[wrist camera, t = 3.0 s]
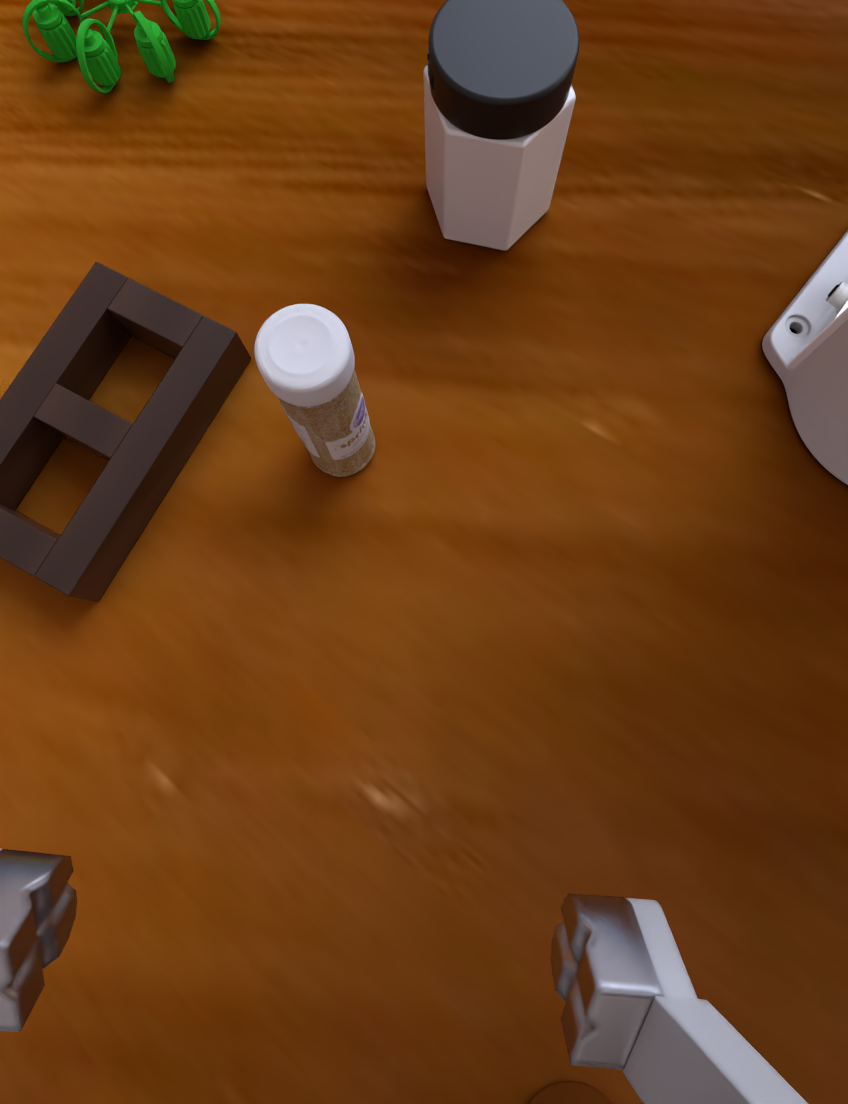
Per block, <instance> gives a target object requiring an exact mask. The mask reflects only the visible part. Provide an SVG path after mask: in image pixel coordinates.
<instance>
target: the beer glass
mask: <svg viewBox="0 0 848 1104" xmlns="http://www.w3.org/2000/svg"><path fill="white" fill-rule="evenodd" d="M528 1104H612V1103H611V1102H610V1101H609V1100H608V1099H607V1098H606V1097H605V1096H604V1095H603V1094H602V1093H600V1092H599V1091H597V1090H596V1089H594V1088H592V1087H590V1086H588V1085H585V1084H582V1083H577V1082H561V1083H556V1084H553V1085H551V1086H548V1087H546V1088H545V1089H543V1090H541V1091H540V1092H539V1093H538V1094H536V1095H535V1096H534V1097H533V1098H532V1100H531V1101H530V1102H529V1103H528Z"/></svg>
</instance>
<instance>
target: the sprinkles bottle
mask: <svg viewBox="0 0 848 1104" xmlns="http://www.w3.org/2000/svg"><path fill="white" fill-rule="evenodd" d="M254 352H255V360H256V363H257V366H258V369H259V371H260V373H261V375H262V377H263V379H264V380H265V382H266V384H267V386H268V387H269V389H270V390H271V391H272V392H273V393H274V394H275V395H276V396H277V397H278V398H279V399H280V402H281V404H282V406H283V409H284V411H285V413H286V414H287V416H288V418H289V420H290V422H291V423H292V425H293V427H294V429H295V430H296V432H297V434H298V435H299V437H300V439H301V440H302V442H303V444H304V445H305V447H306V448H307V449H308V450H309V454H310V457H311V459H312V460H313V462H314V464H315V465H316V466H317V467H318V468H319V469H321V470H322V471H323V472H325V473H328V474H330V475H332V476H336V477H344V476H349V475H352V474H355V473H357V472H359V471H360V470H362V469H363V468H364V467H365V466H366V465H367V464H368V462H369V461H370V460H371V458H372V456H373V455H374V451H375V436H374V432H373V430H372V428H371V426H370V421H369V416H368V412H367V408H366V405H365V401H364V398H363V394H362V392H361V390H360V386H359V383H358V380H357V377H356V373H355V370H354V352H353V348H352V344H351V341H350V337H349V334H348V332H347V330H346V328H345V326H344V324H343V323H342V321H341V320H340V319H339V318H338V317H337V316H336V315H335V314H333V313H332V312H331V311H329V310H327V309H325V308H323V307H320V306H317V305H312V304H296V305H291V306H288V307H285V308H283V309H281V310H279V311H277V312H275V313H274V314H273V315H271V316H270V317H269V318H268V319H267V320H266V321H265V322H264V324H263V325H262V327H261V328H260V330H259V332H258V334H257V337H256V341H255V348H254Z"/></svg>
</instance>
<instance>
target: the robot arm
mask: <svg viewBox="0 0 848 1104" xmlns="http://www.w3.org/2000/svg"><path fill="white" fill-rule="evenodd" d="M790 328H793V329H794V330H795V331H796V333H797V334H794V333H792V332H791V331H790ZM762 348H763V351H764V354H765V356H766V358H767V359H768V361H769V363H770V364H771V366H772V367H773V369H774V370H775V371H776V373H777V374H778V376H779V377H780V378H781V380H782V382H783V384H784V387H785V390H786V394H787V399H788V404H789V408H790V412H791V416H792V419H793V422H794V424H795V427H796V429H797V431H798V433H799V435H800V437H801V439H802V440H803V442H804V444H805V445H806V447H807V448H808V449H809V451H810V452H811V453H812V455H813V456H814V457H815V458H816V459H817V461H818V462H819V463H820V464H821V465H822V466H823V467H824V468H826V469H827V470H828V471H829V472H830V473H831V474H833V475H834V476H835V477H836V478H838V479H839V480H841V481H842V482H844V483H845V484H847V485H848V230H847V232H846V233H845V234H844V236H843V237H842V238H841V239H840V241H839V242H838V243H837V244H836V246H835V247H834V248H833V249H832V251H831V252H830V253H829V255H828V256H827V257H826V258H825V260H824V261H823V262H822V263H821V265H820V266H819V267H818V269H817V270H816V271H815V272H814V274H813V275H812V276H811V277H810V279H809V280H808V281H807V282H806V284H805V285H804V286H803V288H802V289H801V290H800V291H799V293H798V294H797V295H796V296H795V298H794V299H793V300H792V301H791V303H790V304H789V305H788V307H787V308H786V309H785V310H784V312H783V313H782V314H781V315H780V317H779V318H778V319H777V321H776V322H775V323H774V324H773V326H772V327H771V328H770V329H769V331H768V332H767V333H766V335H765V336H764V338H763V341H762ZM72 873H73V866H72V861H71V856H64V855H55V854H45V853H36V852H26V851H17V850H8V849H0V1031H21V1030H22V1028H23V1026H24V1024H25V1022H26V1020H27V1018H28V1016H29V1014H30V1012H31V1011H32V1009H33V1007H34V1005H35V1003H36V1001H37V999H38V997H39V995H40V993H41V991H42V989H43V987H44V986H45V983H44V977H43V970H42V969H43V968H45V967H46V966H47V965H48V964H50V963H51V962H52V961H54V960H55V959H56V958H58V957H59V956H60V954H61V952H62V950H63V948H64V946H65V944H66V942H67V940H68V938H69V936H70V932H71V929H72V926H73V923H74V920H75V916H76V907H77V897H76V890H74V889H73V888H72V887H71V886H70V885H69V884H68V883H67V882H68V880H69V878H70V876H71V874H72ZM561 910H562V915H563V919H564V921H563V922H561V923H560V924H558V925H557V926H556V927H555V930H554V934H553V938H552V947H551V965H552V975H553V980H554V986H555V990H556V991H557V992H558V994H559V995H560V996H561V997H562V998H563V1000H564V1001H565V1002H566V1005H565V1008H564V1011H563V1014H562V1017H561V1021H562V1026H563V1031H564V1036H565V1041H566V1046H567V1051H568V1056H569V1061H570V1065H581V1066H591V1067H602V1068H613V1069H624V1071H623V1074H624V1075H625V1077H626V1078H627V1080H628V1081H629V1083H630V1084H631V1085H632V1087H633V1088H634V1090H635V1091H636V1093H637V1094H638V1096H639V1097H640V1099H641V1100H642V1102H643V1103H644V1104H808V1103H807V1102H806V1101H805V1100H804V1099H803V1098H802V1097H801V1096H800V1095H799V1094H798V1093H797V1092H796V1091H795V1090H794V1089H793V1088H792V1087H791V1086H790V1085H789V1084H788V1083H787V1082H786V1081H785V1080H784V1079H783V1078H782V1076H781V1075H780V1074H779V1073H778V1072H777V1071H776V1070H775V1069H774V1068H773V1067H772V1066H771V1065H770V1064H769V1063H768V1062H767V1061H766V1060H765V1059H764V1058H763V1057H762V1056H761V1055H760V1054H759V1053H758V1052H757V1051H756V1050H755V1049H754V1048H753V1047H752V1046H751V1045H750V1044H749V1043H748V1042H747V1041H746V1040H745V1039H744V1038H743V1037H742V1036H741V1034H740V1033H739V1032H738V1031H737V1030H736V1029H735V1028H734V1027H733V1026H732V1025H731V1024H730V1023H729V1022H728V1021H727V1020H726V1019H725V1018H724V1017H723V1016H722V1015H721V1014H720V1013H719V1012H718V1011H717V1010H716V1009H715V1008H714V1007H713V1006H712V1005H711V1004H710V1003H709V1002H708V1001H707V1000H703V999H698V998H697V996H696V993H695V991H694V988H693V986H692V983H691V981H690V978H689V976H688V973H687V971H686V968H685V965H684V963H683V960H682V958H681V955H680V953H679V950H678V948H677V945H676V943H675V940H674V938H673V935H672V933H671V930H670V928H669V925H668V923H667V920H666V917H665V915H664V912H663V910H662V907H661V906H660V905H659V903H658V902H657V901H656V900H647V899H633V898H624V897H615V896H599V895H583V894H568V895H567V896H566V897H565V898H564V901H563V904H562V907H561Z"/></svg>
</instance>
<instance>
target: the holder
mask: <svg viewBox="0 0 848 1104" xmlns="http://www.w3.org/2000/svg"><path fill="white" fill-rule="evenodd" d="M131 336H133V337H135V338H137V339H139V340H141V341H143V342H145V343H147V344H149V345H151V346H152V347H154V348H156V349H158V350H160V351H162V352H164V353H166V354H168V355H170V356H172V357H174V358H176V359H175V361H174V362H173V364H172V365H171V367H170V368H169V370H168V371H167V373H166V374H165V376H164V378H163V379H162V381H161V382H160V384H159V385H158V387H157V388H156V390H155V391H154V393H153V394H152V396H151V398H150V399H149V401H148V402H147V404H146V405H145V407H144V408H143V410H142V411H141V413H140V414H139V416H138V418H137V419H136V421H135V422H134V424H132V423H130V422H128V421H126V420H124V419H122V418H120V417H119V416H117V415H115V414H113V413H111V412H109V411H107V410H105V409H104V408H102V407H100V406H98V405H96V404H94V403H92V402H90V401H88V400H89V398H90V397H91V396H92V394H93V393H94V391H95V390H96V388H97V387H98V385H99V384H100V382H101V381H102V379H103V378H104V376H105V375H106V373H107V372H108V370H109V369H110V367H111V366H112V364H113V363H114V361H115V360H116V358H117V357H118V355H119V354H120V352H121V351H122V349H123V348H124V346H125V345H126V343H127V342H128V340H129V339H130V337H131ZM250 360H251V356H250V355H249V353H248V351H247V350H246V348H245V346H244V345H243V343H242V341H241V339H240V338H239V336H238V334H237V333H236V332H235V331H233V330H231V329H229V328H227V327H225V326H223V325H221V324H219V323H217V322H215V321H213V320H211V319H209V318H207V317H205V316H203V315H201V314H199V313H197V312H195V311H193V310H191V309H189V308H187V307H185V306H183V305H181V304H179V303H177V302H175V301H173V300H171V299H169V298H167V297H165V296H163V295H161V294H159V293H158V292H156V291H154V290H152V289H150V288H148V287H146V286H144V285H142V284H140V283H138V282H136V281H134V280H132V279H130V278H128V277H126V276H124V275H122V274H120V273H118V272H116V271H114V270H112V269H110V268H108V267H106V266H104V265H102V264H100V263H98V262H95V264H94V265H93V267H92V268H91V270H90V271H89V272H88V274H87V275H86V277H85V278H84V280H83V281H82V283H81V284H80V285H79V287H78V288H77V290H76V291H75V293H74V294H73V296H72V297H71V298H70V300H69V301H68V303H67V304H66V306H65V307H64V309H63V310H62V311H61V313H60V314H59V316H58V317H57V319H56V320H55V322H54V323H53V324H52V326H51V327H50V329H49V330H48V332H47V333H46V335H45V336H44V337H43V339H42V340H41V342H40V343H39V345H38V346H37V347H36V349H35V350H34V352H33V353H32V355H31V356H30V358H29V359H28V360H27V362H26V363H25V365H24V366H23V368H22V369H21V371H20V372H19V373H18V375H17V376H16V378H15V379H14V381H13V382H12V384H11V385H10V386H9V388H8V389H7V391H6V392H5V394H4V395H3V397H2V398H1V399H0V557H1V558H3V559H4V560H6V561H8V562H10V563H11V564H13V565H15V566H17V567H18V568H20V569H22V570H24V571H25V572H27V573H29V574H31V575H32V576H35V577H36V578H38V579H40V580H41V581H43V582H45V583H47V584H48V585H50V586H52V587H54V588H55V589H57V590H59V591H61V592H62V593H64V594H66V595H68V596H72V597H77V598H81V599H86V600H91V601H95V602H99V600H100V599H101V597H102V595H103V594H104V592H105V591H106V589H107V588H108V586H109V584H110V583H111V581H112V580H113V578H114V576H115V575H116V573H117V572H118V570H119V568H120V567H121V565H122V564H123V562H124V560H125V559H126V557H127V556H128V554H129V553H130V551H131V549H132V548H133V546H134V545H135V543H136V541H137V540H138V538H139V537H140V535H141V533H142V532H143V530H144V529H145V527H146V525H147V524H148V522H149V521H150V519H151V517H152V516H153V514H154V513H155V511H156V510H157V508H158V506H159V505H160V503H161V502H162V500H163V498H164V497H165V495H166V494H167V492H168V490H169V489H170V487H171V486H172V484H173V482H174V481H175V479H176V478H177V476H178V475H179V473H180V471H181V470H182V468H183V467H184V465H185V463H186V462H187V460H188V459H189V457H190V455H191V454H192V452H193V451H194V449H195V447H196V446H197V444H198V443H199V441H200V440H201V438H202V436H203V435H204V433H205V432H206V430H207V428H208V427H209V425H210V424H211V422H212V420H213V419H214V417H215V416H216V414H217V412H218V411H219V409H220V408H221V406H222V405H223V403H224V401H225V400H226V398H227V397H228V395H229V393H230V392H231V390H232V389H233V387H234V385H235V384H236V382H237V381H238V379H239V377H240V376H241V374H242V373H243V371H244V370H245V368H246V366H247V365H248V363H249V362H250ZM64 436H65V437H67V438H69V439H70V440H72V441H74V442H76V443H78V444H80V445H82V446H83V447H85V448H87V449H89V450H91V451H93V452H94V453H96V454H98V455H100V456H102V457H104V458H106V459H107V460H109V462H108V464H107V465H106V467H105V468H104V470H103V471H102V473H101V474H100V476H99V477H98V479H97V481H96V482H95V484H94V485H93V487H92V488H91V490H90V491H89V493H88V494H87V496H86V497H85V499H84V501H83V502H82V504H81V505H80V507H79V508H78V510H77V511H76V513H75V514H74V516H73V517H72V519H71V521H70V522H69V524H68V525H67V527H66V528H65V530H64V531H63V533H62V534H61V535H59V534H57V533H55V532H54V531H52V530H50V529H48V528H46V527H45V526H43V525H41V524H39V523H38V522H36V521H34V520H32V519H30V518H29V517H27V516H25V515H23V514H21V513H20V512H18V511H16V510H15V509H16V508H17V506H18V505H19V503H20V502H21V500H22V499H23V497H24V496H25V494H26V493H27V491H28V490H29V488H30V487H31V485H32V484H33V482H34V481H35V479H36V478H37V476H38V475H39V473H40V472H41V470H42V469H43V467H44V466H45V464H46V463H47V461H48V460H49V458H50V457H51V455H52V454H53V452H54V451H55V449H56V448H57V446H58V445H59V443H60V442H61V440H62V439H63V437H64Z"/></svg>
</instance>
